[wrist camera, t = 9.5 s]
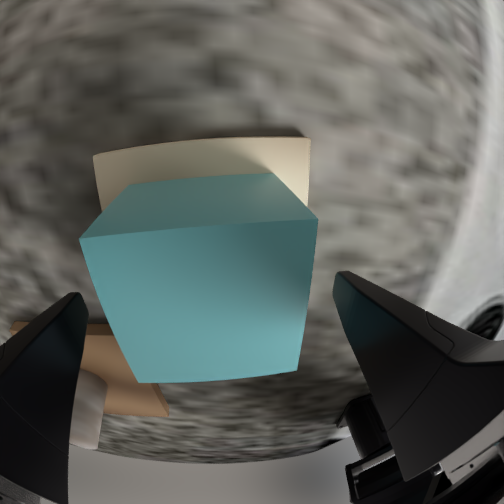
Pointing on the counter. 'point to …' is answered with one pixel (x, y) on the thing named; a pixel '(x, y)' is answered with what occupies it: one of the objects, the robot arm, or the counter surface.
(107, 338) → the post stand
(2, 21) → the counter surface
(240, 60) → the counter surface
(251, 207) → the teal cube
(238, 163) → the board
